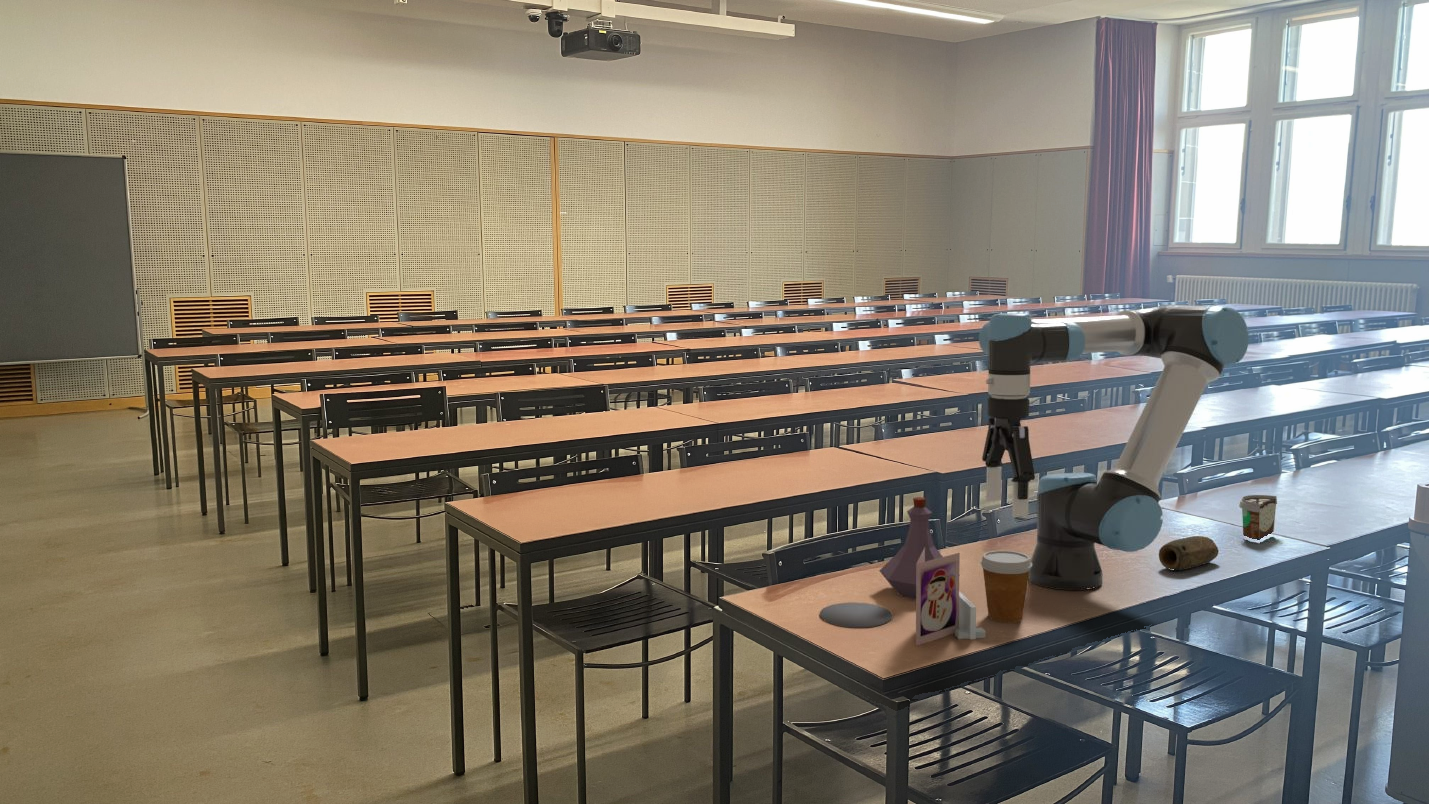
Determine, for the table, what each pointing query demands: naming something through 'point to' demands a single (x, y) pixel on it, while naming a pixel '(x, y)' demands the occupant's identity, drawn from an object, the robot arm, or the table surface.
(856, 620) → the mat
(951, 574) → the greeting card
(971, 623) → the divider
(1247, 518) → the food container
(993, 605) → the disposable coffee cup
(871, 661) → the table surface
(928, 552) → the flask
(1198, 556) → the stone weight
